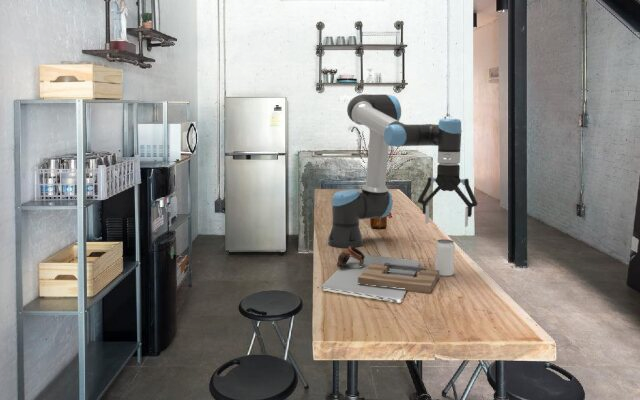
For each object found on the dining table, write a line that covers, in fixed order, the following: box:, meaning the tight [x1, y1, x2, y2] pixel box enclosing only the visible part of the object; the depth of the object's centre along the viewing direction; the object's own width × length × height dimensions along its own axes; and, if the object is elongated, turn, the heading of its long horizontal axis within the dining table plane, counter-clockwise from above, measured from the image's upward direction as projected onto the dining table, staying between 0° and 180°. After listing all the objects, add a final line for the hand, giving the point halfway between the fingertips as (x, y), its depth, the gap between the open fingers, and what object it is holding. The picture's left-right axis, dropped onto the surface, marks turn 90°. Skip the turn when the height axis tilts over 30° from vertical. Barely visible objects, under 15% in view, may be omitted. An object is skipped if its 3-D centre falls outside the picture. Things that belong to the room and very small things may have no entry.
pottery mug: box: [336, 246, 366, 268], centre depth 197 cm, size 12×10×8 cm
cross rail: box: [383, 262, 427, 273], centre depth 188 cm, size 2×15×3 cm, turn 68°
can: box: [434, 238, 456, 277], centre depth 188 cm, size 6×6×12 cm
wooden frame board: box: [357, 263, 440, 294], centre depth 180 cm, size 18×24×2 cm
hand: (446, 224), depth 186 cm, fingers open, 13 cm apart
